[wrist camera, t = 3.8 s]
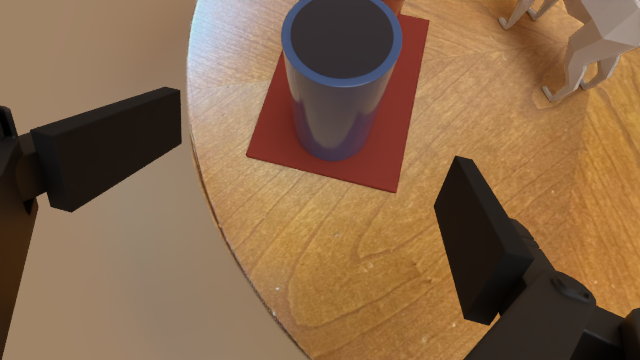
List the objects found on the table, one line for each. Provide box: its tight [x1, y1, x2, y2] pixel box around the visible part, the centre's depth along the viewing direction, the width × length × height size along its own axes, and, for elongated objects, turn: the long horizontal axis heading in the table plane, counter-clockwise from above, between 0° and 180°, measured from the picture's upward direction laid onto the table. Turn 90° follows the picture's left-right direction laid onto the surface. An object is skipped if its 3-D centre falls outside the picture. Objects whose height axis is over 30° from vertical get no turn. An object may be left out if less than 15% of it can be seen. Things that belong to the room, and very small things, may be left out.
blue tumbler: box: [281, 0, 402, 161], centre depth 23 cm, size 7×7×11 cm
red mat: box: [246, 0, 429, 193], centre depth 29 cm, size 18×13×1 cm
